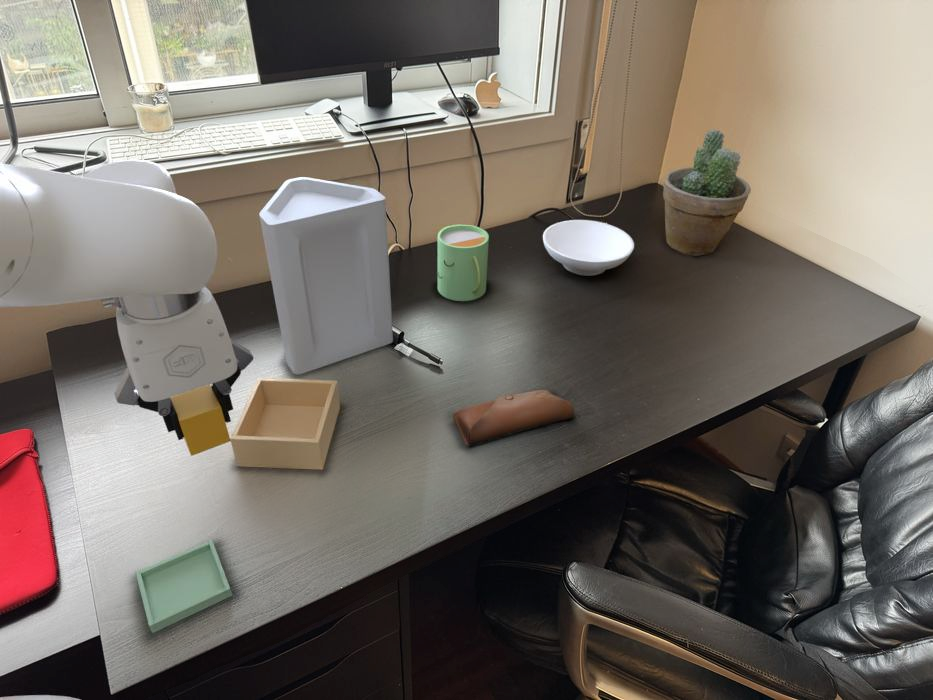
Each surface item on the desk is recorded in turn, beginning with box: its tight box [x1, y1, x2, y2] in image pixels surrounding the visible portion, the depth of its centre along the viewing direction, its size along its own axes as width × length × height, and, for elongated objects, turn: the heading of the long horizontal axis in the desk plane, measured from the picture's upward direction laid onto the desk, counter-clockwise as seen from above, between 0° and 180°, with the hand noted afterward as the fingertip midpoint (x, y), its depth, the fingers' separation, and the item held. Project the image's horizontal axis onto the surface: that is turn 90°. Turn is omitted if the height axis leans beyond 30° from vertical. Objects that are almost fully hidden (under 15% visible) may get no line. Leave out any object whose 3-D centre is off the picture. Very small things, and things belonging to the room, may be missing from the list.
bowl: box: [542, 219, 635, 277], centre depth 139 cm, size 20×20×7 cm
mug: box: [435, 224, 490, 302], centre depth 128 cm, size 13×10×12 cm
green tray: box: [135, 539, 233, 634], centre depth 76 cm, size 9×8×2 cm
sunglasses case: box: [452, 389, 575, 447], centre depth 100 cm, size 18×7×7 cm
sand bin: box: [230, 377, 341, 471], centre depth 96 cm, size 13×12×6 cm
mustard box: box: [170, 384, 231, 457], centre depth 73 cm, size 4×4×6 cm
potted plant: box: [662, 129, 752, 257], centre depth 143 cm, size 18×19×25 cm
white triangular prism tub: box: [258, 176, 394, 376], centre depth 109 cm, size 19×15×28 cm
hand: (201, 422), depth 74 cm, fingers closed on mustard box, 4 cm apart
